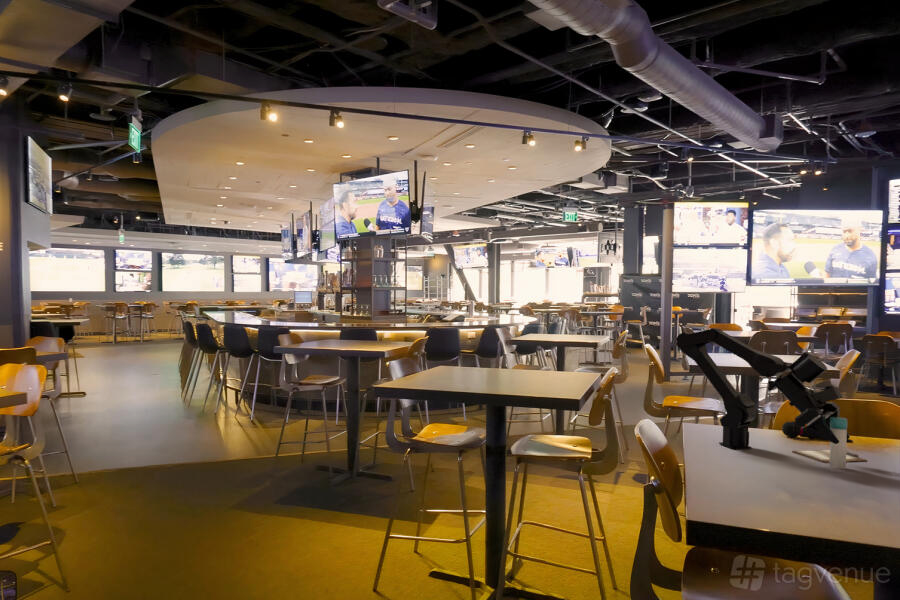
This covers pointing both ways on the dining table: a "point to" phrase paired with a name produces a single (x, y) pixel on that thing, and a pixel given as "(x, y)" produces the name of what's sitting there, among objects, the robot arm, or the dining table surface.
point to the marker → (839, 449)
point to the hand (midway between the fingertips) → (843, 440)
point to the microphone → (800, 432)
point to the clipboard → (826, 455)
